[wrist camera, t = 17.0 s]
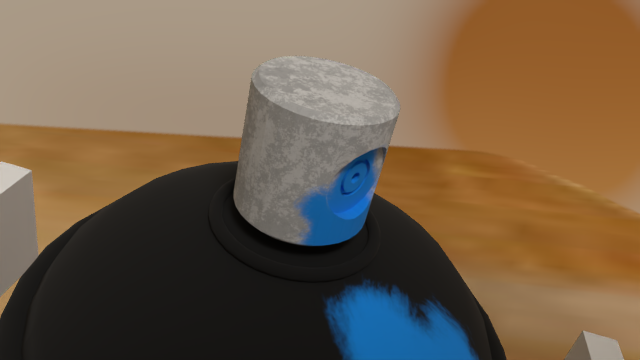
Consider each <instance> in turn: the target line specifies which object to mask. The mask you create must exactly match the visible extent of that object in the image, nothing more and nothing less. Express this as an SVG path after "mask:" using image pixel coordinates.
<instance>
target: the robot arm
mask: <svg viewBox="0 0 640 360" xmlns="http://www.w3.org/2000/svg"><path fill="white" fill-rule="evenodd" d="M37 257H38V244H37V232H36V219H35V207H34V194H33V181H32V170H29V169H25V168H22V167H18V166H15V165H12V164H8V163H5V162H0V297H1V296H2V295H3V294H4V293H5V292H6V291H7V290H8V289H9V288H10V287H11V286H12V285H13V284H14V283H15V282H16V281H17V280H18V279H19V278H20V277H21V276H22V275H23V274H24V273H25V271H26V270H27V269H28V268H29V267H30V265H31V264H32V263H33V262H34V261H35V260H36V258H37ZM564 360H624V358H623V355H622V353H621V350H620V347H619V344H618V341H617V340H614V339H611V338H607V337H604V336H600V335H597V334H593V333H590V332H586V331H582V333H581V334H580V336H579V337H578V339H577V340H576V342H575V343H574V345H573V346H572V348H571V349H570V351H569V353H568V354H567V356H566V357H565V359H564Z"/></svg>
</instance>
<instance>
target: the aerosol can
mask: <svg viewBox="0 0 640 360" xmlns="http://www.w3.org/2000/svg"><path fill="white" fill-rule="evenodd" d="M399 112H400V103H399V101H398V99H397V97H396V95H395V94H394V92H393V91H392V90H391V89H390V88H389V86H387V85H386V84H385V83H384V82H382V81H381V80H380V79H378V78H376V77H375V76H373V75H371V74H369V73H367V72H365V71H363V70H360V69H357V68H355V67H352V66H349V65H346V64H343V63H340V62H336V61H332V60H328V59H321V58H316V57H306V56H286V57H279V58H274V59H271V60H269V61H266V62H265V63H263V64H261V65H260V66H258V67H257V68H256V69H255V70H254V72H253V74H252V78H251V85H250V91H249V98H248V103H247V110H246V116H245V123H244V129H243V136H242V142H241V148H240V155H239V161H235V162H223V163H210V164H205V165H200V166H195V167H190V168H186V169H181V170H178V171H176V172H173V173H170V174H167V175H164V176H162V177H159V178H156V179H154V180H152V181H151V182H149V183H147V184H145V185H143V186H141V187H140V188H138V189H136V190H134V191H132V192H131V193H129V194H127V195H125V196H124V197H122V198H120V199H118V200H116V201H115V202H113V203H111V204H109V205H108V206H106V207H104V208H102V209H100V210H98V211H97V212H95V213H93V214H91V215H89V216H88V217H86V218H84V219H82V220H80V221H78V222H77V223H75V224H74V225H73V226H72V227H70V228H69V229H68V230H67V231H65V232H64V233H63V234H62V235H60V236H59V237H58V238H57V239H55V240H54V241H53V242H52V243H50V244H49V245H48V246H47V247H46V248H45V249H44V250H43V251H42V252H41V254H40V255H39V256H38V257H37V258H36V260H35V261H34V262H33V263H32V264H31V265H30V267H29V268H28V269H27V270H26V271H25V273H24V274H23V275H22V276H21V277H20V279H19V281H18V283H17V285H16V287H15V289H14V291H13V293H12V295H11V297H10V299H9V301H8V303H7V305H6V307H5V309H4V311H3V313H2V315H1V318H0V360H506V356H505V352H504V349H503V347H502V345H501V343H500V340H499V338H498V336H497V334H496V332H495V330H494V328H493V326H492V323H491V321H490V319H489V317H488V315H487V314H486V312H485V311H484V310H483V308H482V307H481V305H480V304H479V302H478V301H477V299H476V298H475V297H474V295H473V294H472V292H471V291H470V289H469V288H468V286H467V285H466V283H465V282H464V280H463V279H462V277H461V276H460V274H459V273H458V271H457V270H456V268H455V267H454V265H453V264H452V262H451V261H450V260H449V258H448V257H447V255H446V254H445V252H444V251H443V250H442V248H441V247H440V245H439V244H438V243H437V242H436V241H435V240H434V239H433V238H432V237H431V236H430V234H429V233H428V232H427V231H426V230H425V229H424V228H423V227H422V226H421V225H420V224H419V223H417V222H416V221H415V220H413V219H412V218H411V217H410V216H408V215H407V214H406V213H404V212H403V211H402V210H401V209H399V208H398V207H396V206H395V205H393V204H391V203H390V202H388V201H386V200H385V199H383V198H381V197H380V196H378V195H376V194H375V193H374V191H375V188H376V185H377V182H378V179H379V175H380V172H381V169H382V166H383V163H384V159H385V156H386V153H387V150H388V147H389V144H390V140H391V137H392V134H393V131H394V128H395V124H396V121H397V118H398V115H399Z"/></svg>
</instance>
